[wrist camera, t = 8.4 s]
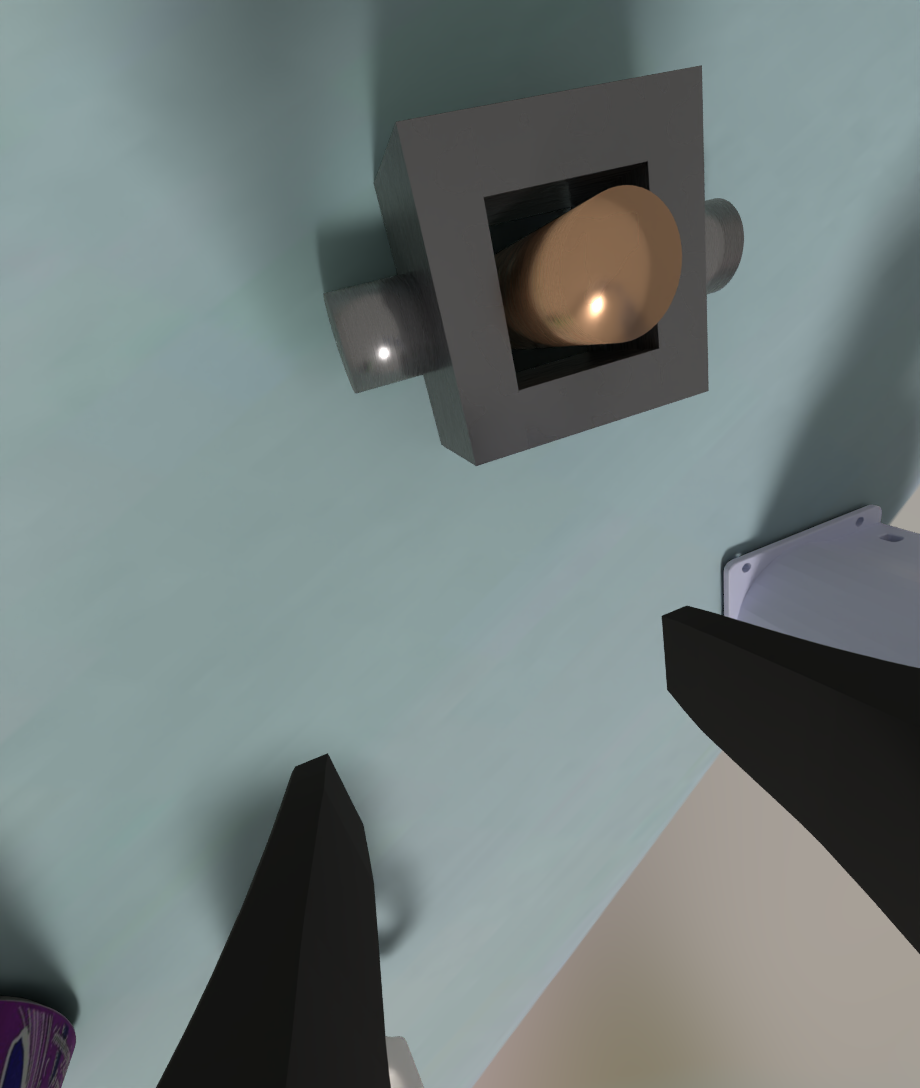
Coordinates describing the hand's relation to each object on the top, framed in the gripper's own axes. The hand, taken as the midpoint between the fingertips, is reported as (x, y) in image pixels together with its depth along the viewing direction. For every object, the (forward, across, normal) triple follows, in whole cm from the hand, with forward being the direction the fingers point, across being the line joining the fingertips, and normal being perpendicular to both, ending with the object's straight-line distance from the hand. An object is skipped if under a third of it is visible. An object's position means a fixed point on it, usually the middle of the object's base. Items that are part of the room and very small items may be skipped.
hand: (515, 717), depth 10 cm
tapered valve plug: (+10, -6, -8) cm, 14 cm away
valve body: (+10, -6, -8) cm, 14 cm away
